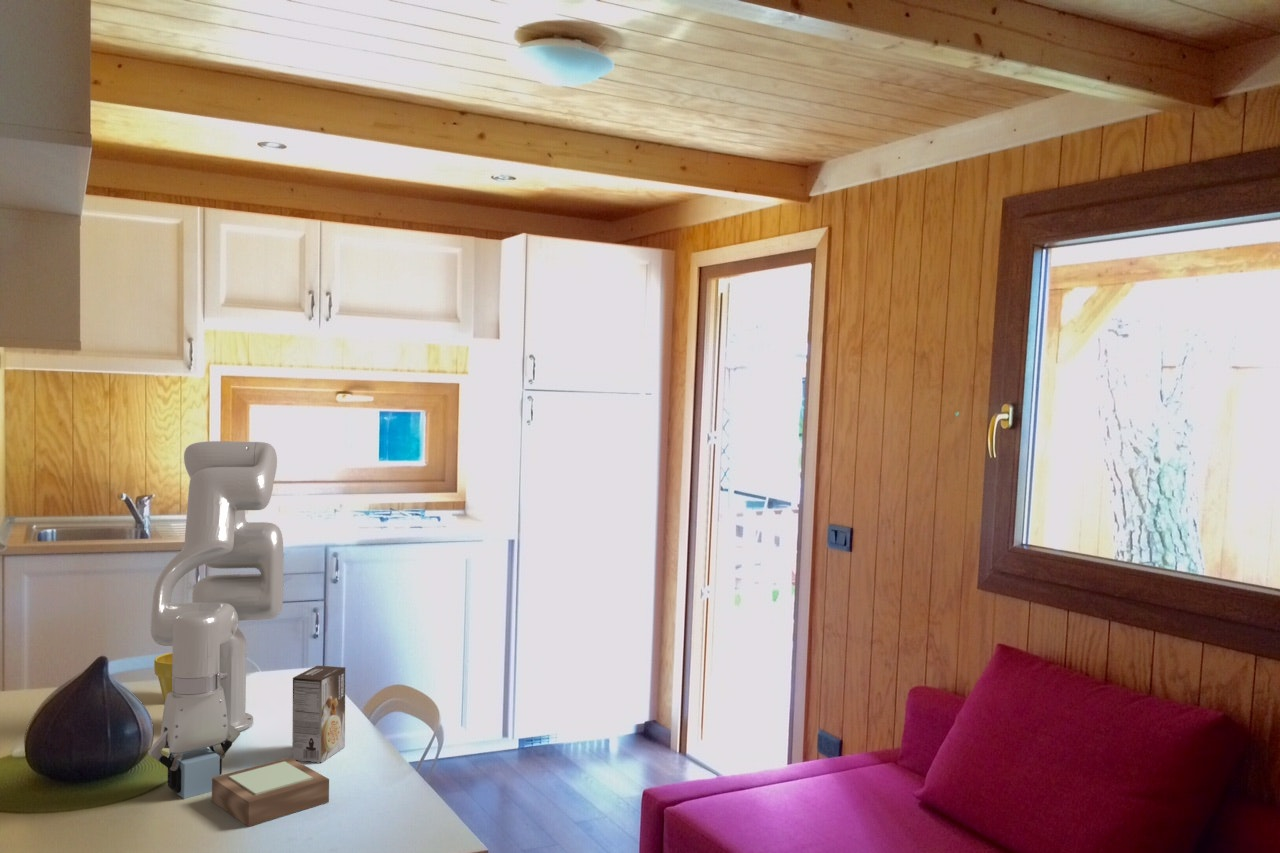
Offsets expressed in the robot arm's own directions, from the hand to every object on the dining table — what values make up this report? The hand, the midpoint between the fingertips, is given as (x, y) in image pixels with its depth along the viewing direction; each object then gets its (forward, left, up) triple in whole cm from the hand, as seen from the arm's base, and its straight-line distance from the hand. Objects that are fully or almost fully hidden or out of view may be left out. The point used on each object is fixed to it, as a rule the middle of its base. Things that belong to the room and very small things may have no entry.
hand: (195, 784), depth 171 cm
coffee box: (-1, +24, -1) cm, 24 cm away
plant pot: (-53, +18, -1) cm, 56 cm away
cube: (0, 0, -1) cm, 1 cm away
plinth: (+14, +7, -1) cm, 16 cm away
